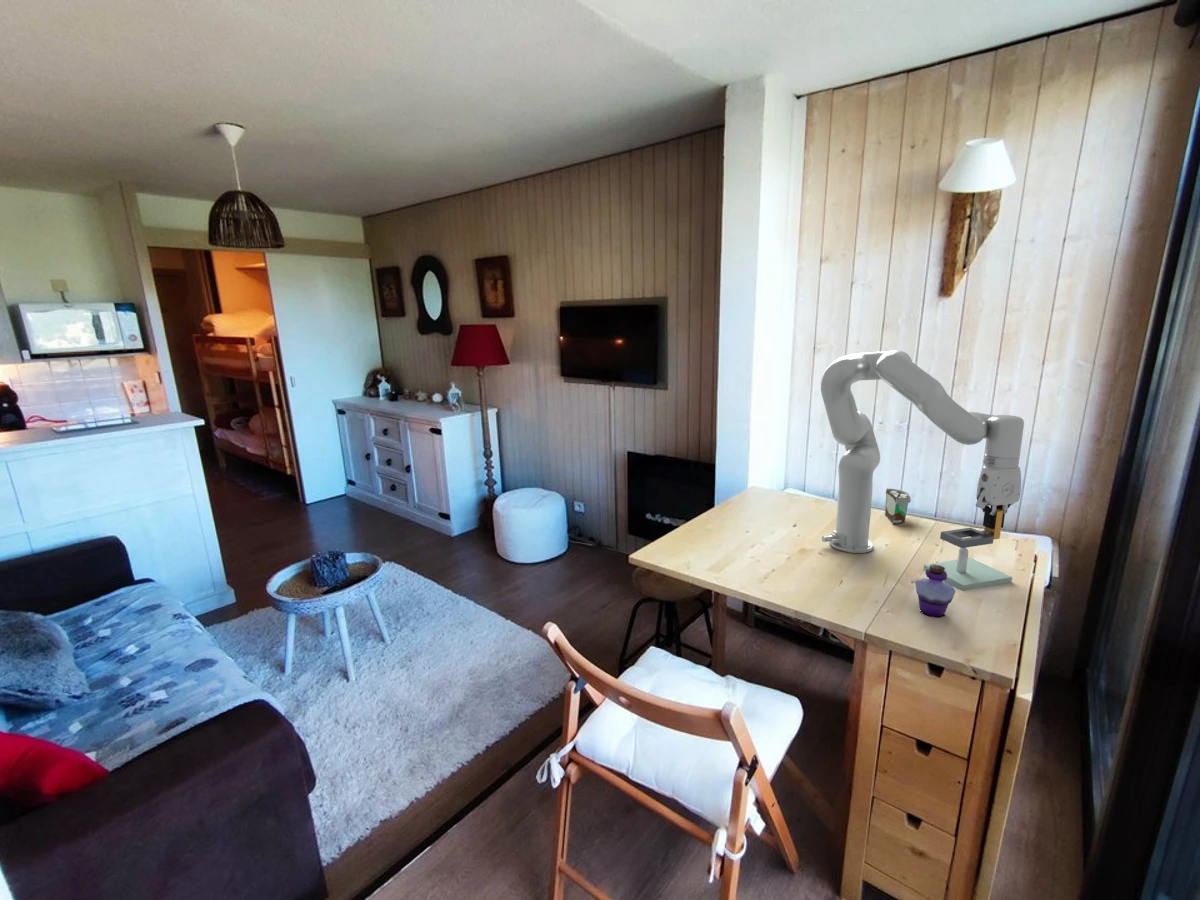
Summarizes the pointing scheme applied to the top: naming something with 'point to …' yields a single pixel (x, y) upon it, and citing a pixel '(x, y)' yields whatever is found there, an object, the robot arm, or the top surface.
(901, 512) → the food container
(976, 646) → the top surface
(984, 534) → the grey square frame
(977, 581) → the plate
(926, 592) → the potion bottle
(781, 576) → the top surface
